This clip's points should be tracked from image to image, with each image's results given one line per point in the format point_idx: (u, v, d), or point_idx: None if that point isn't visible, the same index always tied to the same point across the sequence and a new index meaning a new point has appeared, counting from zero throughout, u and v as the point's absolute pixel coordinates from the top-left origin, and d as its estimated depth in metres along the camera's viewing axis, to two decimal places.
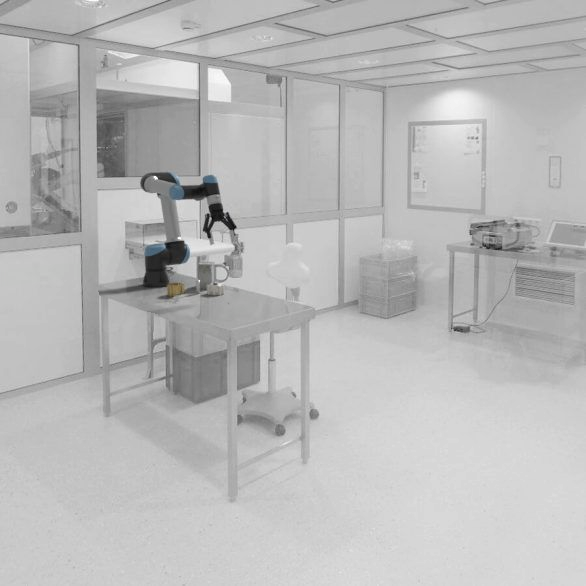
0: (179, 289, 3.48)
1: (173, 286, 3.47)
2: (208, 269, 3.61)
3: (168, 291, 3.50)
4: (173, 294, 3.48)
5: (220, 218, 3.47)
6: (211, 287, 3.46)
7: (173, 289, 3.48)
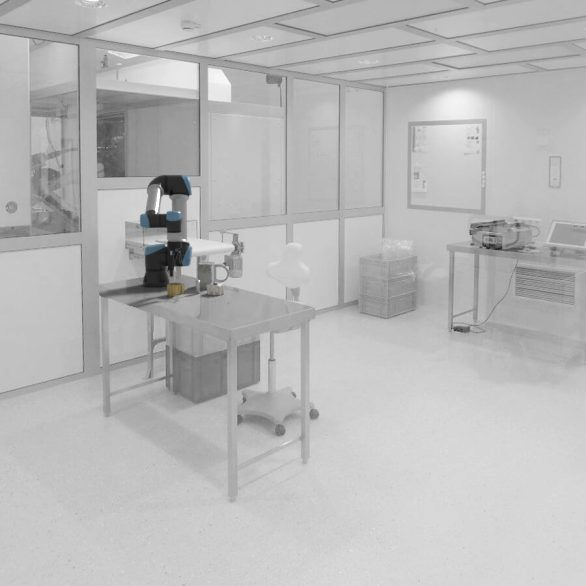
0: (179, 289, 3.48)
1: (173, 286, 3.47)
2: (208, 269, 3.61)
3: (168, 291, 3.50)
4: (173, 294, 3.48)
5: (177, 255, 3.48)
6: (211, 287, 3.46)
7: (173, 289, 3.48)
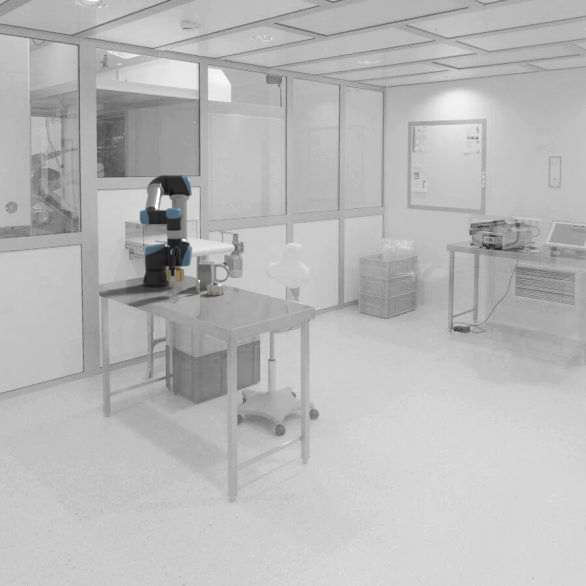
0: (179, 274, 3.48)
1: None
2: (208, 269, 3.61)
3: (168, 276, 3.49)
4: None
5: (177, 252, 3.48)
6: (211, 287, 3.46)
7: None
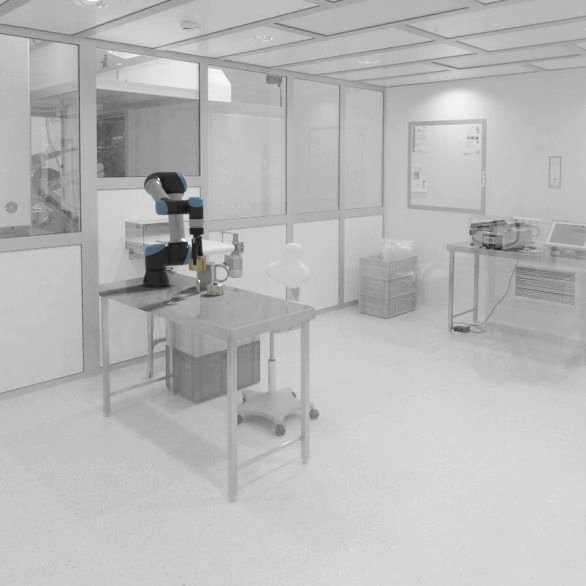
0: (201, 264, 3.45)
1: None
2: (208, 269, 3.61)
3: (190, 266, 3.46)
4: None
5: (199, 242, 3.46)
6: (211, 287, 3.46)
7: None
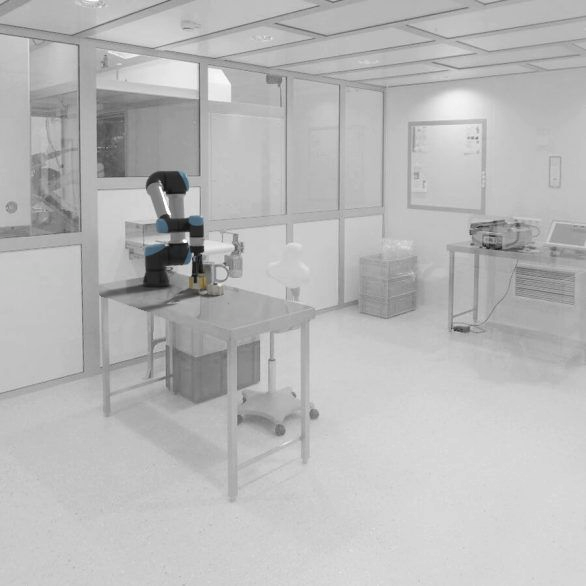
0: (201, 281, 3.47)
1: None
2: (208, 269, 3.61)
3: (190, 284, 3.48)
4: None
5: (199, 260, 3.48)
6: (211, 287, 3.46)
7: None
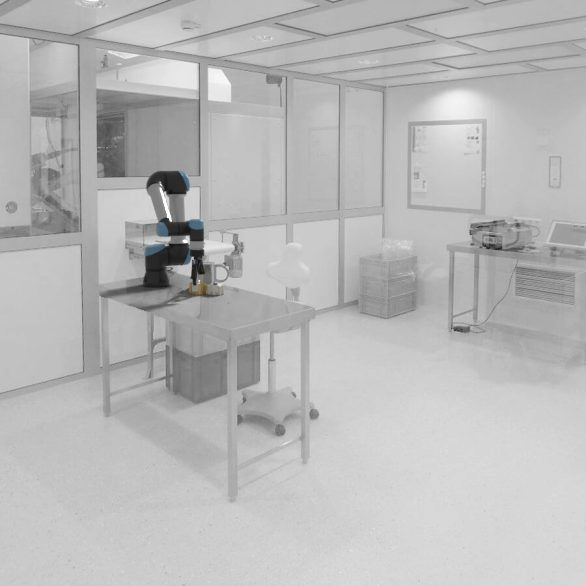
0: (201, 287, 3.47)
1: None
2: (208, 269, 3.61)
3: (190, 289, 3.48)
4: (195, 292, 3.47)
5: (199, 263, 3.48)
6: (211, 287, 3.46)
7: None
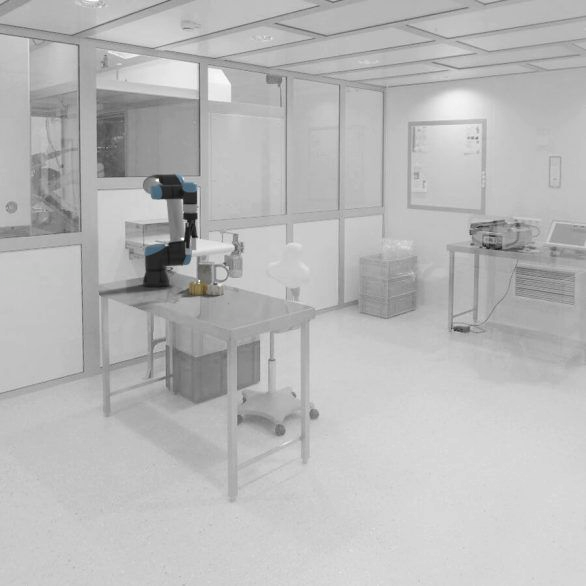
0: (201, 287, 3.47)
1: (195, 284, 3.46)
2: (208, 269, 3.61)
3: (190, 289, 3.48)
4: (195, 292, 3.47)
5: (193, 227, 3.47)
6: (211, 287, 3.46)
7: (195, 287, 3.46)
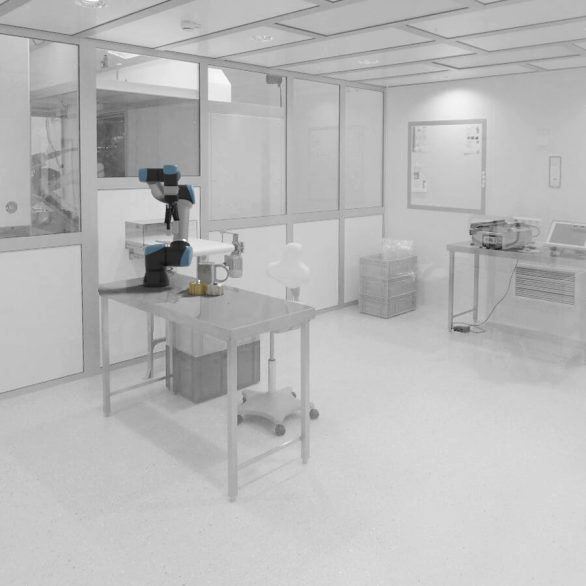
0: (201, 287, 3.47)
1: (195, 284, 3.46)
2: (208, 269, 3.61)
3: (190, 289, 3.48)
4: (195, 292, 3.47)
5: (174, 209, 3.51)
6: (211, 287, 3.46)
7: (195, 287, 3.46)
